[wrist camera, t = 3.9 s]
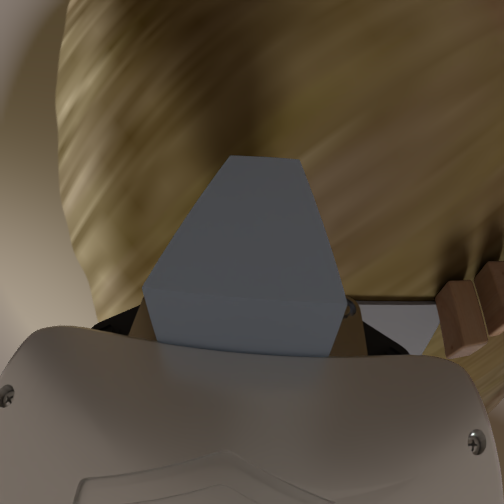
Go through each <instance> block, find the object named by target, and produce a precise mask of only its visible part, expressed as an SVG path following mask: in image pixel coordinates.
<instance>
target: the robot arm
mask: <svg viewBox="0 0 504 504" xmlns="http://www.w3.org/2000/svg"><path fill="white" fill-rule="evenodd" d="M345 297H346V300H347V307H346V310H345V313H344V316H343V319H342V322H341V324H340V327H339V330H338V333H337V335H336V338H335V341H334V344H333V346H332V349H331V351H330V354H329V357H300V356H277V355H261V354H248V353H236V352H226V351H217V350H208V349H200V348H193V347H186V346H179V345H172V344H166V343H160V342H157V339H156V335H155V332H154V329H153V326H152V322H151V319H150V315H149V312H148V308H147V305H146V301H145V297H143V299H142V302H141V304H140V305H139V306H137V307H134V308H132V309H130V310H127V311H125V312H123V313H120V314H118V315H116V316H113V317H111V318H109V319H106V320H104V321H102V322H99V323H98V324H96V325H94V326H93V327H92V328H91V329H90V328H85V327H77V326H53V327H46V328H42V329H40V330H37V331H35V332H33V333H32V334H31V335H30V336H29V337H28V338H27V339H26V340H25V341H24V342H23V343H22V344H21V346H20V347H19V348H18V349H17V351H16V352H15V354H14V355H13V357H12V358H11V359H10V361H9V362H8V364H7V366H6V367H5V369H4V371H3V372H2V374H1V376H0V504H504V501H503V489H502V488H503V487H502V479H501V470H500V464H499V460H498V454H497V449H496V445H495V441H494V437H493V433H492V429H491V425H490V422H489V419H488V416H487V413H486V410H485V407H484V404H483V402H482V399H481V397H480V395H479V392H478V390H477V388H476V386H475V384H474V382H473V381H472V379H471V377H470V376H469V374H468V373H467V372H466V371H465V370H464V368H462V367H461V366H460V365H458V364H456V363H454V362H452V361H449V360H446V359H442V358H439V357H434V356H426V355H410V354H409V352H408V351H407V350H406V349H405V348H404V347H403V346H401V345H399V344H398V343H396V342H395V341H393V340H392V339H390V338H389V337H387V336H385V335H384V334H382V333H381V332H379V331H378V330H376V329H374V328H373V327H371V326H370V325H368V324H367V323H365V322H364V321H362V315H361V310H360V307H359V304H358V303H357V302H356V301H355V300H354V299H352V298H351V297H349V296H347V295H345Z"/></svg>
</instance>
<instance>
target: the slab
mask: <svg viewBox="0 0 504 504" xmlns="http://www.w3.org/2000/svg"><path fill="white" fill-rule="evenodd" d="M142 290H143V294H144V297H145V301H146V305H147V308H148V312H149V315H150V319H151V322H152V326H153V329H154V332H155V335H156V339H157V342H160V343H166V344H172V345H179V346H186V347H193V348H200V349H208V350H217V351H226V352H236V353H248V354H261V355H277V356H300V357H329V354H330V351H331V349H332V346H333V344H334V341H335V338H336V335H337V333H338V330H339V327H340V324H341V322H342V319H343V316H344V313H345V310H346V307H347V300H346V297H345V293H344V289H343V286H342V282H341V279H340V276H339V272H338V269H337V266H336V262H335V259H334V256H333V253H332V250H331V247H330V243H329V240H328V237H327V234H326V231H325V228H324V225H323V222H322V219H321V217H320V214H319V211H318V208H317V205H316V202H315V200H314V197H313V194H312V191H311V189H310V186H309V183H308V181H307V178H306V175H305V173H304V170H303V168H302V165H301V163H300V160H298V159H286V158H272V157H255V156H229V158H228V159H227V160H226V162H225V163H224V164H223V166H222V167H221V168H220V170H219V171H218V173H217V174H216V175H215V177H214V178H213V179H212V181H211V182H210V184H209V185H208V186H207V188H206V189H205V191H204V192H203V193H202V195H201V196H200V198H199V199H198V201H197V202H196V204H195V205H194V206H193V208H192V209H191V211H190V212H189V214H188V215H187V217H186V218H185V220H184V221H183V223H182V224H181V226H180V227H179V229H178V230H177V232H176V233H175V235H174V236H173V238H172V240H171V241H170V243H169V244H168V246H167V247H166V249H165V251H164V252H163V254H162V255H161V257H160V259H159V260H158V262H157V263H156V265H155V267H154V268H153V270H152V272H151V273H150V275H149V277H148V278H147V280H146V282H145V283H144V285H143V287H142Z"/></svg>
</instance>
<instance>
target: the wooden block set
mask: <svg viewBox="0 0 504 504" xmlns="http://www.w3.org/2000/svg"><path fill="white" fill-rule="evenodd" d="M474 283H475V286H476V290H477V293H478V296H479V299H480V303H481V306H482V310H483V314H484V317H485V321H486V326H487V330H488V334H489V336H495V335H499V334H500V333H502V332H503V331H504V261H489V262H487V263H486V264H485V266H484V267H483V268H482V269H481V271H480V272H479V273H478V274H477V276H476V277H475V279H474ZM435 302H436V307H437V311H438V316H439V320H440V325H441V330H442V336H443V341H444V347H445V353H446V358H447V359H452V358H458V357H463V356H467V355H470V354H472V353H474V352H475V351H477V350H478V349H480V348H481V347H483V346H484V345H485V344H486V343H487V342H488V339H487V334H486V330H485V325H484V321H483V317H482V313H481V310H480V306H479V302H478V299H477V296H476V292H475V289H474V286H473V283H472V281H471V280H461V281H449V282H447V283H446V285H445V286H444V287H443V288H442V290H441V291H440V292H439V293H438V294H437V296H436V297H435Z"/></svg>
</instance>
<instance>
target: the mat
mask: <svg viewBox="0 0 504 504" xmlns="http://www.w3.org/2000/svg"><path fill="white" fill-rule="evenodd" d="M356 302H357V303H358V304H359V307H360V310H361V315H362V321H364V322H365V323H367V324H368V325H370V326H371V327H373V328H374V329H376V330H378V331H379V332H381V333H382V334H384V335H385V336H387V337H389V338H390V339H392V340H393V341H395V342H396V343H398V344H399V345H401V346H403V347H404V348H405V349H406V350H407V351H408V352H409V354H410V355H422V353H423V351H424V350H425V348H426V346H427V345H428V343H429V341H430V339H431V338H432V336H433V334H434V332H435V330H436V329H437V327H438V325H439V323H440V320H439V316H438V311H437V307H436V302H435V301H356Z"/></svg>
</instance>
